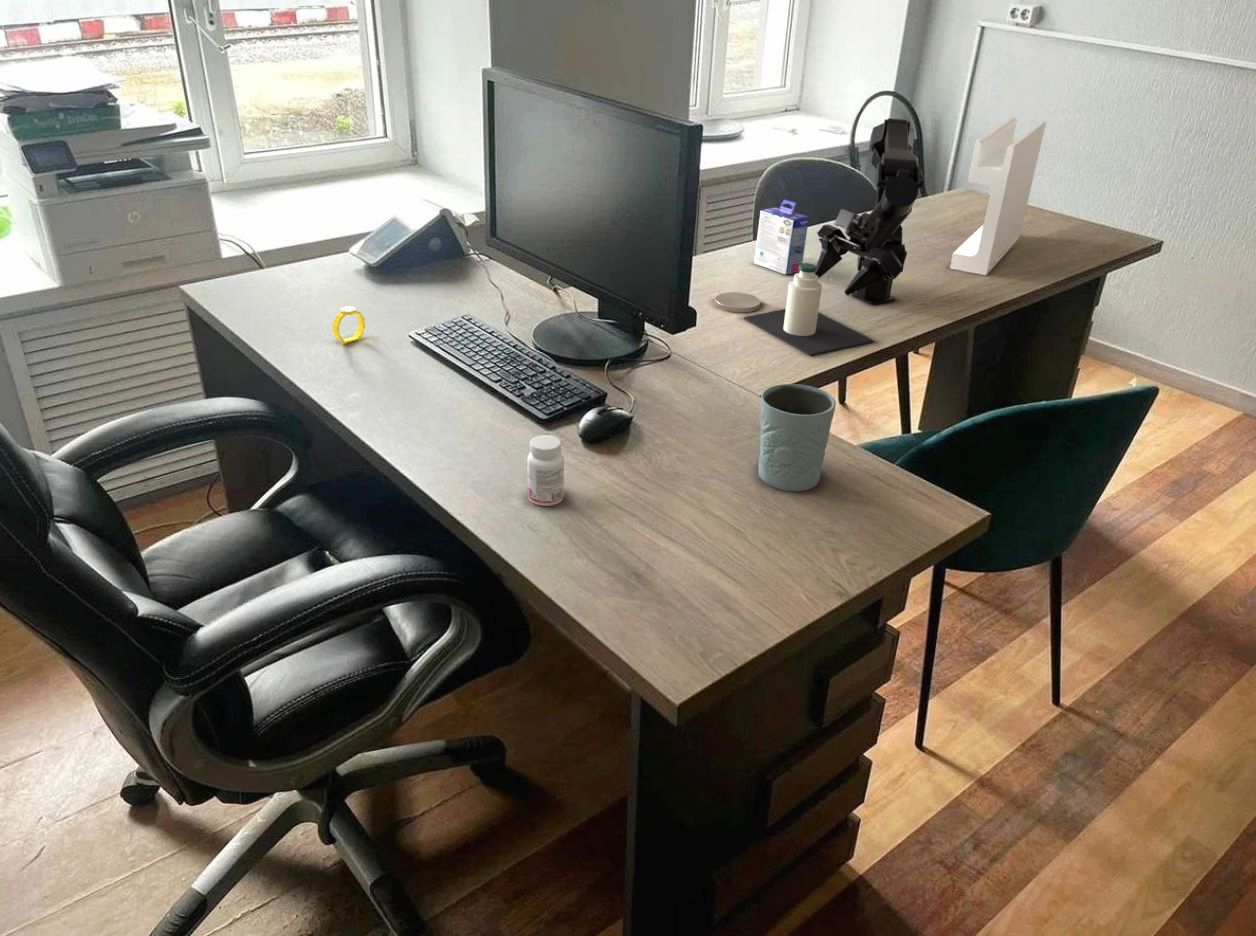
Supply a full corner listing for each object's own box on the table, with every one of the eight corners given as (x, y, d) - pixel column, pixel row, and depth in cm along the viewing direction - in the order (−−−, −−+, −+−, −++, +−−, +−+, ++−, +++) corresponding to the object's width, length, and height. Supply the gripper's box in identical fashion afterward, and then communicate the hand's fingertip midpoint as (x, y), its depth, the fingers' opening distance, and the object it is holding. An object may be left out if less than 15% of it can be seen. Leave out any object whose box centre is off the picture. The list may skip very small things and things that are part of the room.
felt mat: (804, 307, 201) (804, 305, 201) (873, 342, 186) (873, 340, 186) (743, 318, 194) (744, 316, 194) (810, 356, 179) (810, 354, 179)
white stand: (986, 275, 223) (1014, 145, 209) (949, 268, 226) (975, 140, 212) (1019, 238, 249) (1046, 121, 236) (986, 232, 253) (1011, 116, 239)
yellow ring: (341, 347, 174) (338, 315, 171) (331, 343, 176) (327, 311, 173) (369, 338, 178) (365, 306, 176) (358, 334, 180) (355, 302, 177)
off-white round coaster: (742, 294, 206) (742, 289, 206) (768, 308, 199) (769, 303, 199) (705, 300, 202) (706, 295, 201) (732, 315, 195) (732, 310, 195)
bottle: (801, 322, 192) (810, 258, 186) (822, 333, 188) (831, 268, 182) (776, 327, 190) (784, 263, 183) (796, 338, 185) (805, 272, 179)
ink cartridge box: (803, 271, 220) (812, 205, 213) (786, 276, 217) (794, 209, 210) (769, 259, 227) (776, 195, 219) (753, 264, 223) (759, 198, 216)
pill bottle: (527, 488, 136) (527, 433, 131) (563, 488, 136) (563, 433, 132) (527, 507, 131) (527, 450, 127) (564, 506, 132) (564, 450, 128)
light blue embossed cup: (775, 499, 136) (785, 419, 130) (739, 464, 144) (747, 388, 138) (838, 486, 139) (851, 408, 133) (799, 453, 147) (810, 378, 141)
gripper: (831, 181, 189) (778, 245, 190) (901, 206, 175) (843, 275, 176) (857, 218, 196) (805, 280, 197) (925, 245, 183) (870, 311, 183)
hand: (829, 286), depth 188 cm, fingers open, 9 cm apart
